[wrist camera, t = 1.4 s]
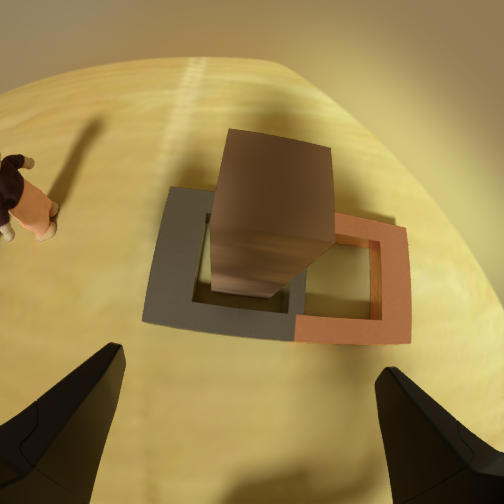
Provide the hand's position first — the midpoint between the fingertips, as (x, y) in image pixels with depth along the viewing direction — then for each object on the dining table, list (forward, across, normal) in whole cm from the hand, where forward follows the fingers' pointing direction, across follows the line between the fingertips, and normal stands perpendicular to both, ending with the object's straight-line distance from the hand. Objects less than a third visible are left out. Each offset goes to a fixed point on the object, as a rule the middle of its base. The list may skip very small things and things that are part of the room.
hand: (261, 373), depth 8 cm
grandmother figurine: (+15, +20, +3) cm, 25 cm away
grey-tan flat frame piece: (+14, -4, +4) cm, 15 cm away
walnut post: (+14, 0, +4) cm, 15 cm away
